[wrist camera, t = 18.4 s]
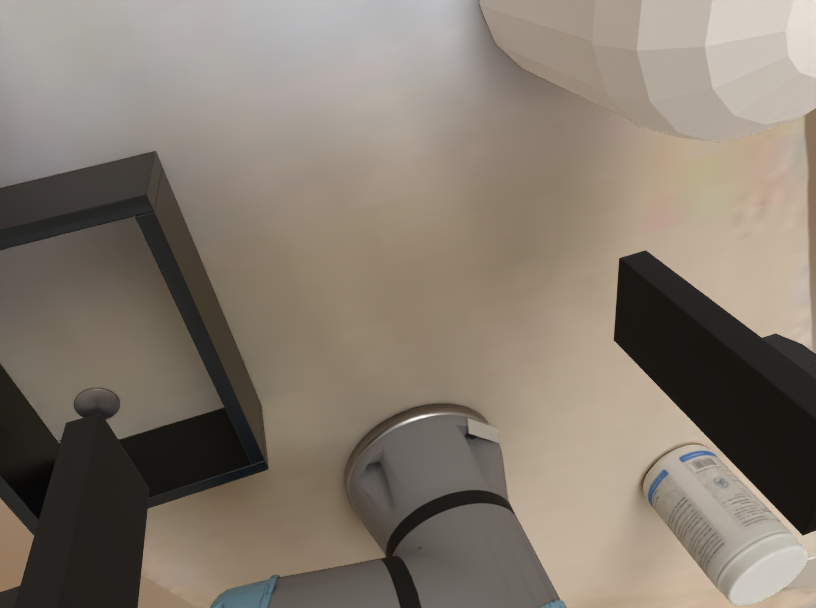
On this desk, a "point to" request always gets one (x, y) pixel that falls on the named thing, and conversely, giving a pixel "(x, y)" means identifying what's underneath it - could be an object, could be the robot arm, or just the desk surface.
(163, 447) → the black open box
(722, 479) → the supplement tub
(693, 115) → the container
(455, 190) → the desk surface
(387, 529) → the robot arm
